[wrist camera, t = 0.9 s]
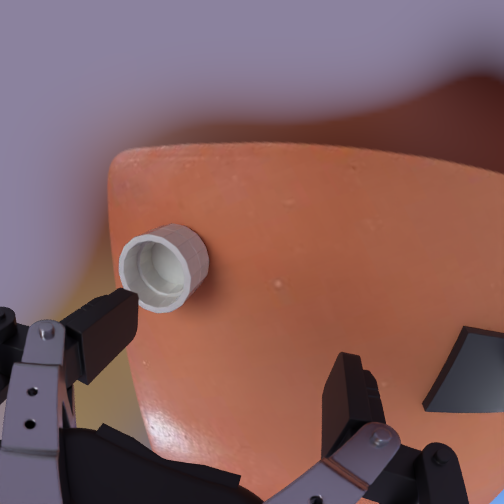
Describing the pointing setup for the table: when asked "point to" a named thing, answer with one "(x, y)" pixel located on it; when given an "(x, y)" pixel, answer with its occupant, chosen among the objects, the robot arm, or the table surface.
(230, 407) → the table surface
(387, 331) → the table surface
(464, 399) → the dark grey flat slab
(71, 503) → the robot arm
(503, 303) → the table surface
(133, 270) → the white round cup
